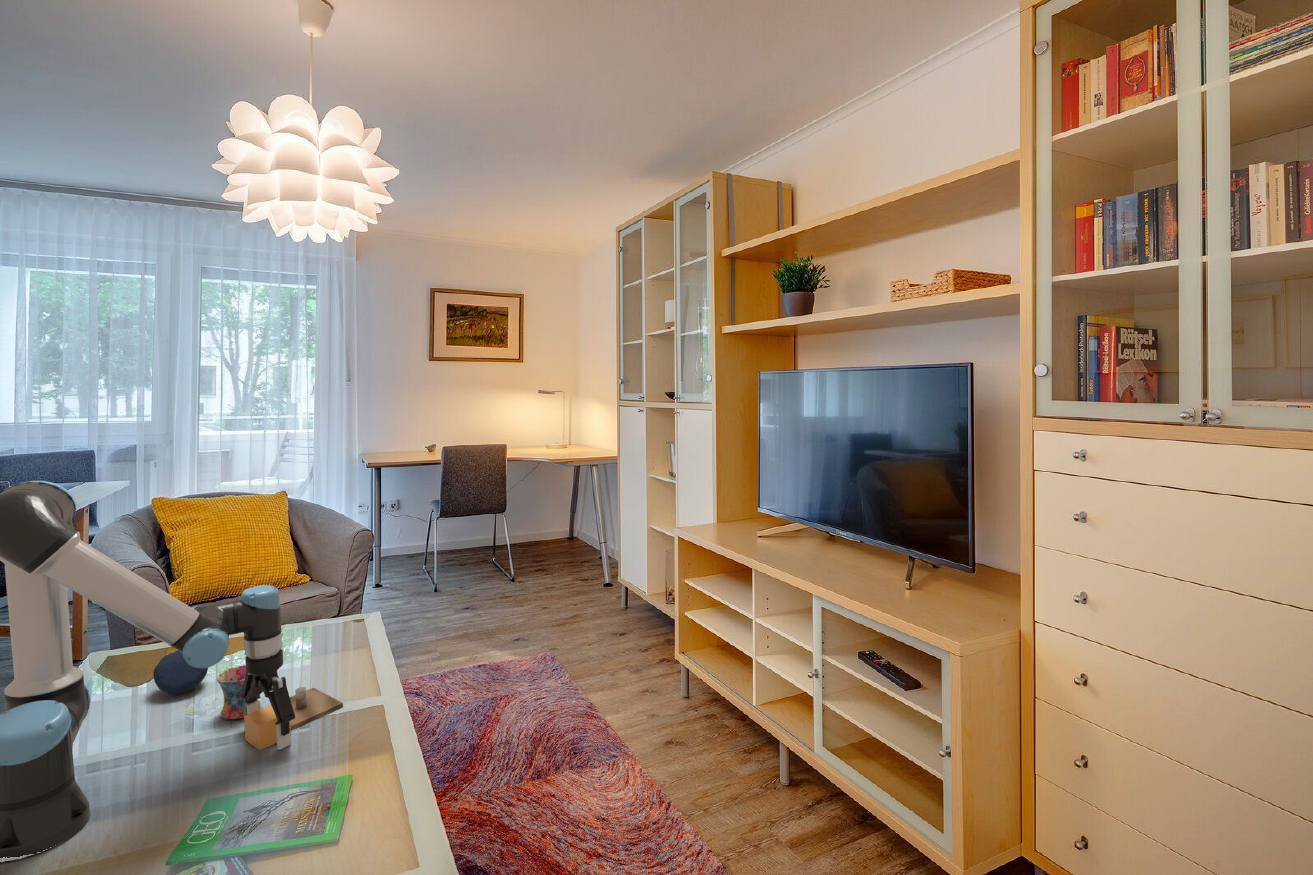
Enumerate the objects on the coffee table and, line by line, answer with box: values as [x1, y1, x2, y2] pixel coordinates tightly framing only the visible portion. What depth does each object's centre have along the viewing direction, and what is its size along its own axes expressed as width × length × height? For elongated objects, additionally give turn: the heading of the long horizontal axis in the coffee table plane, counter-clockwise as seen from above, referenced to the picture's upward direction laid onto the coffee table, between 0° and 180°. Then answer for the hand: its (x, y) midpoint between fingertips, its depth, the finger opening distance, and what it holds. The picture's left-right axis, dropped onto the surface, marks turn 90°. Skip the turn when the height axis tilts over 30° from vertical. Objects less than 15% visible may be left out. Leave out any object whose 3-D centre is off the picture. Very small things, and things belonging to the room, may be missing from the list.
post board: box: [261, 686, 344, 731], centre depth 164 cm, size 14×14×6 cm
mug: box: [216, 664, 264, 720], centre depth 163 cm, size 12×9×11 cm
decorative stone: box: [153, 650, 209, 695], centre depth 173 cm, size 12×12×10 cm
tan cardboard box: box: [243, 704, 292, 751], centre depth 152 cm, size 7×7×6 cm
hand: (269, 737), depth 152 cm, fingers open, 13 cm apart
